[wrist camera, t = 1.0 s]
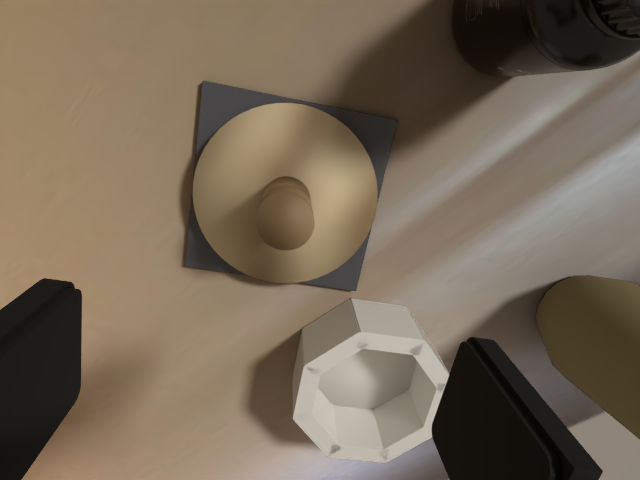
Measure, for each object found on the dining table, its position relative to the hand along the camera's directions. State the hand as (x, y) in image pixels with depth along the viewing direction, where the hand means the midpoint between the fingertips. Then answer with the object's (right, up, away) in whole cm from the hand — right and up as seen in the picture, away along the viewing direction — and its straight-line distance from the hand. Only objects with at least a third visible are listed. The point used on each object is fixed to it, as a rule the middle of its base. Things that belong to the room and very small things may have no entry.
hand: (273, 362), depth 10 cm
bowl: (+5, -6, +22) cm, 23 cm away
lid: (-1, +6, +17) cm, 18 cm away
